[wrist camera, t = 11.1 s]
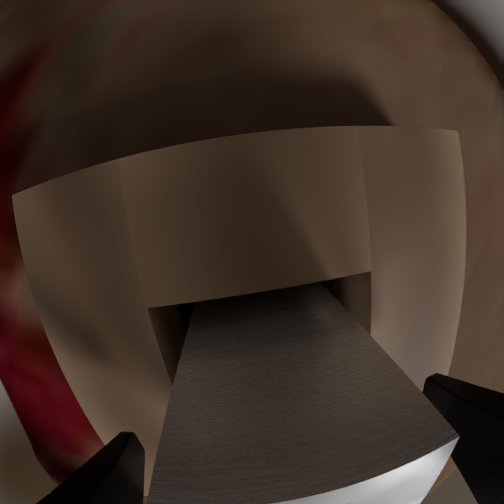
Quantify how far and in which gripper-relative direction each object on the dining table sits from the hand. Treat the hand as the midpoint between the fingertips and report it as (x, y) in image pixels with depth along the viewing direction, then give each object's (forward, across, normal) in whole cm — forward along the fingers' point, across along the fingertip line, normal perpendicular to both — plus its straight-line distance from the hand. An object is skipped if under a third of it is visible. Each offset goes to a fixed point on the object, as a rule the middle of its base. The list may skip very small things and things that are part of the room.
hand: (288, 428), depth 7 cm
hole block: (+6, 0, 0) cm, 6 cm away
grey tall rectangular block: (+6, 0, 0) cm, 6 cm away
